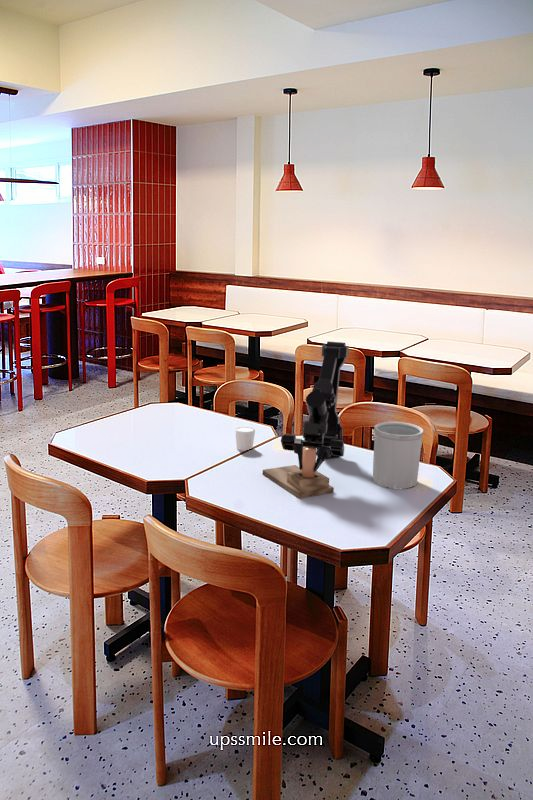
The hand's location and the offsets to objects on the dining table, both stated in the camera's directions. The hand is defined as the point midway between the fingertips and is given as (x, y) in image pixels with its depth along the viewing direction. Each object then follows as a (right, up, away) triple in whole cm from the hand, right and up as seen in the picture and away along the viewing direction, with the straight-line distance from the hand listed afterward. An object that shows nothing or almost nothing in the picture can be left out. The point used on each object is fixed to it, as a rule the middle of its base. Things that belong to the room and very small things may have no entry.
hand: (307, 470), depth 200 cm
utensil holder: (+28, -5, +13) cm, 31 cm away
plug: (0, -4, +2) cm, 5 cm away
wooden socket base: (-3, -5, +8) cm, 10 cm away
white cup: (-20, +3, +40) cm, 45 cm away
